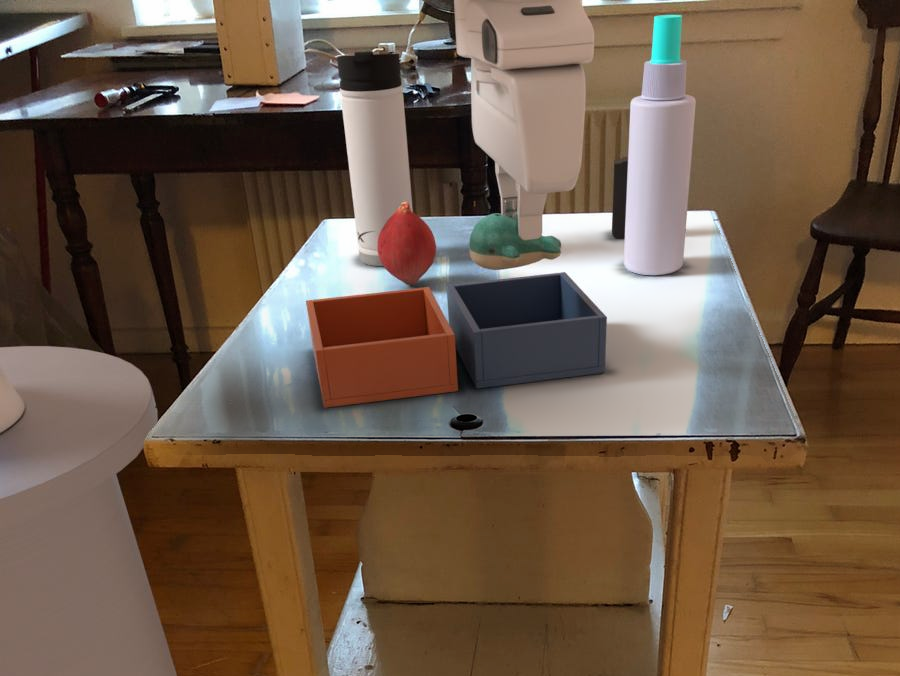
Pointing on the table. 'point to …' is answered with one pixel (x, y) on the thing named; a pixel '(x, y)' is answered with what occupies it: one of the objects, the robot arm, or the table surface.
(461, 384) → the table surface
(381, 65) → the travel mug
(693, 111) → the spray bottle
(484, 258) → the whale figurine
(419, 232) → the onion
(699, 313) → the table surface
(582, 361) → the blue bin
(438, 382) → the terracotta bin
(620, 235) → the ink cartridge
